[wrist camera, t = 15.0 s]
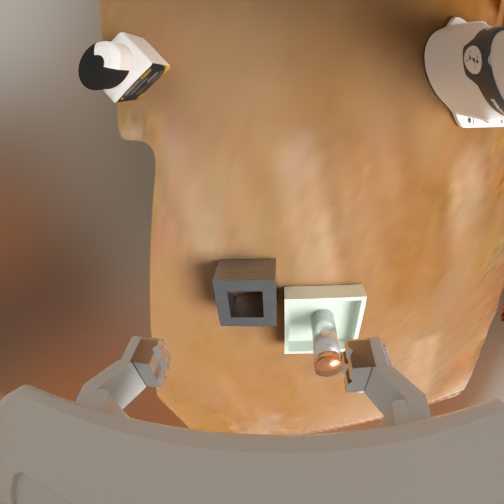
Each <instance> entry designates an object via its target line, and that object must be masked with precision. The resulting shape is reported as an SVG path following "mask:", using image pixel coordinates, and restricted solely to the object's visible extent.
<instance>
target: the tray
mask: <svg viewBox="0 0 504 504" xmlns="http://www.w3.org/2000/svg"><path fill="white" fill-rule="evenodd" d="M366 299H367V295H366V292H365V289H364V286H363V284H351V285H322V286H284V311H285V352H284V354H300V353H314V352H313V340H312V329H311V315H312V314H313V313H314V312H315V311H317V310H319V309H328V310H330V311H332V312H333V314H334V319H335V325H336V331H337V336H338V342H339V348H340V352H344V351H345V346H344V345H345V341H346V340H350V339H358V335H359V331H360V327H361V322H362V318H363V313H364V309H365V304H366Z"/></svg>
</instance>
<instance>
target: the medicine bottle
mask: <svg viewBox="0 0 504 504" xmlns="http://www.w3.org/2000/svg"><path fill="white" fill-rule="evenodd" d="M168 69H170V65H169V64H168V63H167V62H166V61H165V60H164V59H163V58H162V57H161V55H160V54H159V53H158V52H157V51H156V50H155V49H154V48H153V47H152V46H151V45H150V44H149V43H148V42H147V41H146V40H145V39H144V38H141V37H138V36H135V35H132V34H128V33H125V32H120V33H119V34H118V35H117V36H116V37H115V38H114V39H113V40H112V41H111V42H109V41H101V42H97V43H95V44H93V45H92V46H91V47H89V48H88V50H86V52H85V53H84V55H83V56H82V58H81V61H80V64H79V77H80V80H81V82H82V84H83V85H84V86H85V87H87V88H88V89H91V90H102V89H103V91H104V92H105V93H106V94H107V95H108V96H109V97H110V99H111V100H112V101H113V102H122V101H129V100H137V99H139V98H140V97H141V96H142V95H143V94H144V93H145V92H146V91H147V90H148V89H149V88H150V87H151V86H152V85H153V84H154V83H155V82H156V81H157V80H158V79H159V78H160V77H161V76H162V75H163V74H164V73H165V72H166V71H167V70H168Z"/></svg>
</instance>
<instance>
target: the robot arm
mask: <svg viewBox="0 0 504 504" xmlns="http://www.w3.org/2000/svg"><path fill="white" fill-rule="evenodd" d="M424 58H425V68H426V72H427V76H428V79H429V81H430V84H431V86H432V88H433V89H434V91H435V93H436V94H437V96H438V97H439V98H440V99H441V101H442V102H443V103H444V104H445V105H446V106H447V107H448V108H449V109H450V110H451V112H452V115H453V117H454V119H455V121H456V123H457V125H458V126H459V127H462V128H476V127H504V27H502V26H493V27H491V26H489V25H487V24H486V22H483V21H475V22H466V21H465V20H463V19H461V18H459V17H453V18H451V19H450V21H449V22H448V24H447V26H446V27H444V28H442V29H440V30H438V31H436V32H435V33H433V34H432V35H431V37H430V38H429V40H428V42H427V44H426V48H425V57H424ZM468 118H469V122H468ZM344 346H345V351H344V352H343V356H342V369H343V373H344V374H345V378H344V384H345V391H346V392H359V391H364V393H365V394H366V395H367V396H368V397H369V398H370V400H371V401H372V402H373V403H374V404H375V406H376V407H377V408H378V409H379V410H380V411H381V413H382V414H383V415H384V418H383V420H382V421H381V423H380V424H379V426H378V428H373V429H366V430H358V431H348V432H338V433H326V434H304V435H259V434H238V433H225V432H214V431H204V430H196V429H187V428H181V427H175V426H169V425H162V424H157V423H152V422H147V421H142V420H138V419H133V418H129V417H128V415H127V414H126V413H125V412H124V411H123V408H124V407H125V406H127V405H128V403H130V402H131V401H132V400H133V399H134V398H135V397H136V396H137V395H138V394H139V393H140V392H141V391H142V390H143V389H144V388H145V387H146V386H154V387H162V386H163V383H164V380H165V378H166V376H165V373H164V372H166V371H167V370H168V369H169V366H170V354H169V351H168V350H167V349H166V348H164V347H165V342H164V340H163V339H156V338H147V337H138V336H134V337H132V338H131V340H130V342H129V345H128V346H127V348H126V350H125V352H124V354H123V356H122V358H121V360H120V361H119V360H118V361H116V362H115V363H113V364H112V365H111V366H109V367H108V368H106V369H105V370H103V371H102V372H101V373H99V374H98V375H96V376H95V377H93V378H92V379H91V380H89V381H88V382H86V383H85V384H84V386H83V387H82V389H81V391H80V394H79V395H78V397H77V399H76V401H75V402H72V401H69V400H66V399H63V398H61V397H58V396H55V395H52V394H50V393H47V392H45V391H42V390H40V389H37V388H35V387H33V386H30V385H24V386H21V387H19V388H18V389H16V390H14V391H12V392H11V393H9V394H8V395H6V396H5V397H4V398H3V399H2V400H1V401H0V504H504V402H502V401H501V400H499V399H491V400H488V401H485V402H482V403H479V404H476V405H473V406H470V407H467V408H464V409H460V410H457V411H454V412H450V413H447V414H443V415H439V416H435V417H431V413H430V410H429V406H428V403H427V399H426V396H425V394H424V393H423V392H422V391H421V390H419V389H418V388H417V387H416V386H415V385H414V384H412V383H411V382H410V381H409V380H408V379H407V378H405V377H404V376H403V375H402V374H401V373H400V372H399V371H397V370H396V369H395V368H394V367H393V366H392V365H388V363H387V360H386V356H385V353H384V349H383V346H382V342H381V339H380V338H379V337H374V338H361V339H350V340H346V341H345V345H344Z"/></svg>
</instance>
